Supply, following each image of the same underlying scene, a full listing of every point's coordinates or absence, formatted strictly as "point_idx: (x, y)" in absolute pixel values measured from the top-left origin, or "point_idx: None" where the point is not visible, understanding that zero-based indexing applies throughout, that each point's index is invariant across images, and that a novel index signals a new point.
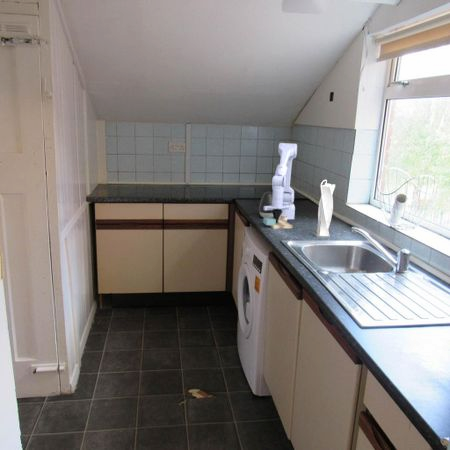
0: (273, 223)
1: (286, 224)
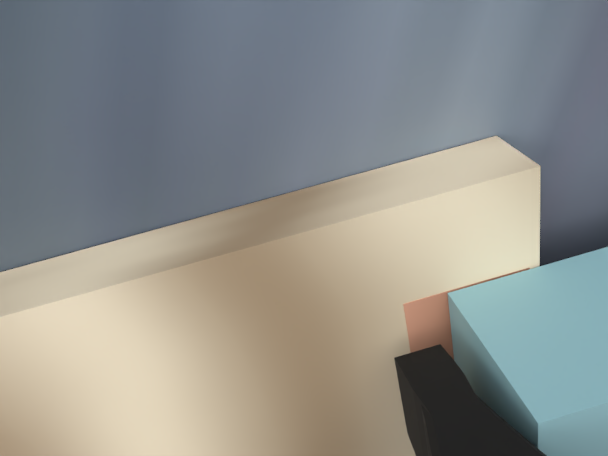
0: (536, 300)
1: (94, 412)
